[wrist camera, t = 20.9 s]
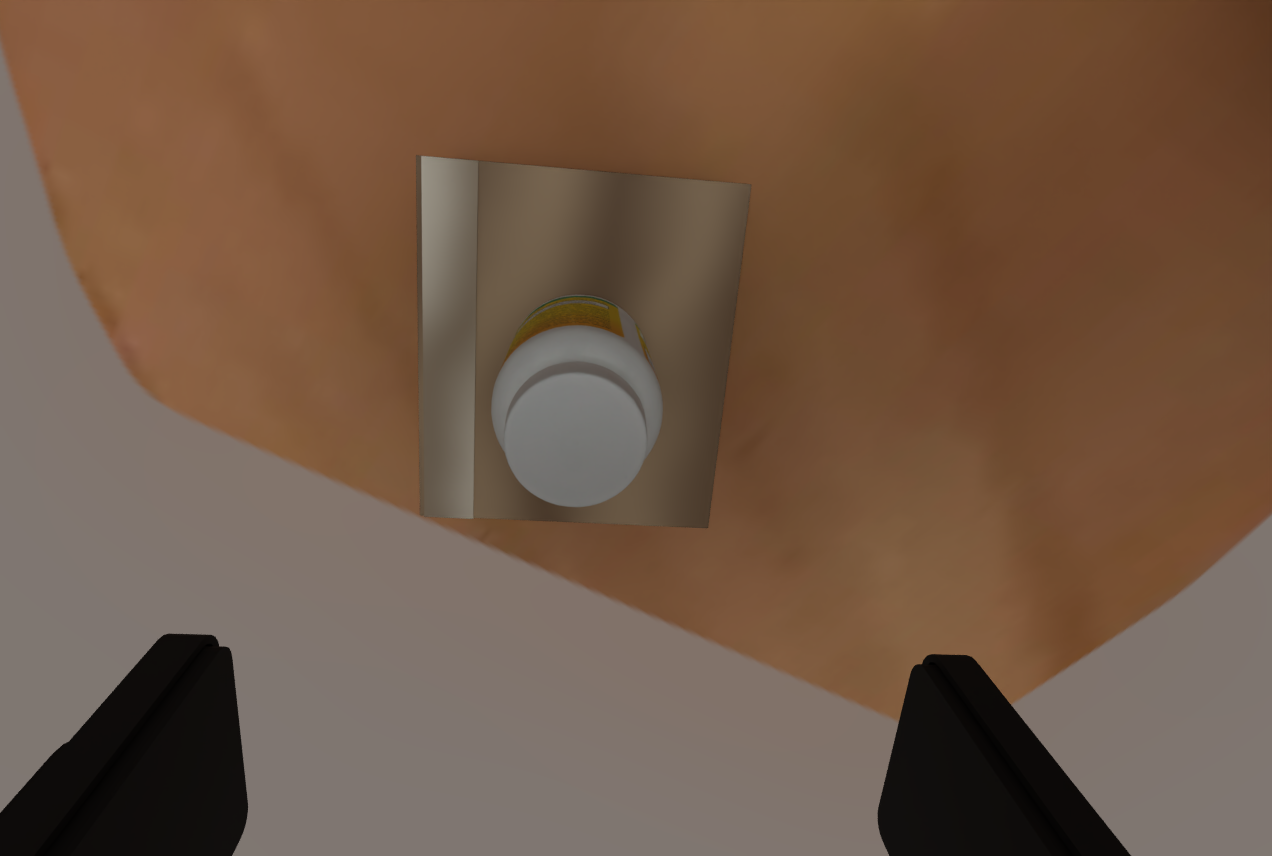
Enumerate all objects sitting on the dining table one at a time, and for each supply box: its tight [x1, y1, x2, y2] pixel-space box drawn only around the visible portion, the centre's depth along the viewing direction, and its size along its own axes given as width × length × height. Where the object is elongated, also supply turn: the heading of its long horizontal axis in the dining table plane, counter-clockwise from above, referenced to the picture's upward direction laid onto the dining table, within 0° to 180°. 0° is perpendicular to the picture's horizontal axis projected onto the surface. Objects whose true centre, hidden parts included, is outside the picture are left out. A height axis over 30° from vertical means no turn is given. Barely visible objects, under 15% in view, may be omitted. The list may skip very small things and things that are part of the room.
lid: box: [416, 155, 751, 528], centre depth 30 cm, size 12×14×1 cm
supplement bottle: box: [491, 295, 663, 507], centre depth 25 cm, size 5×5×10 cm
